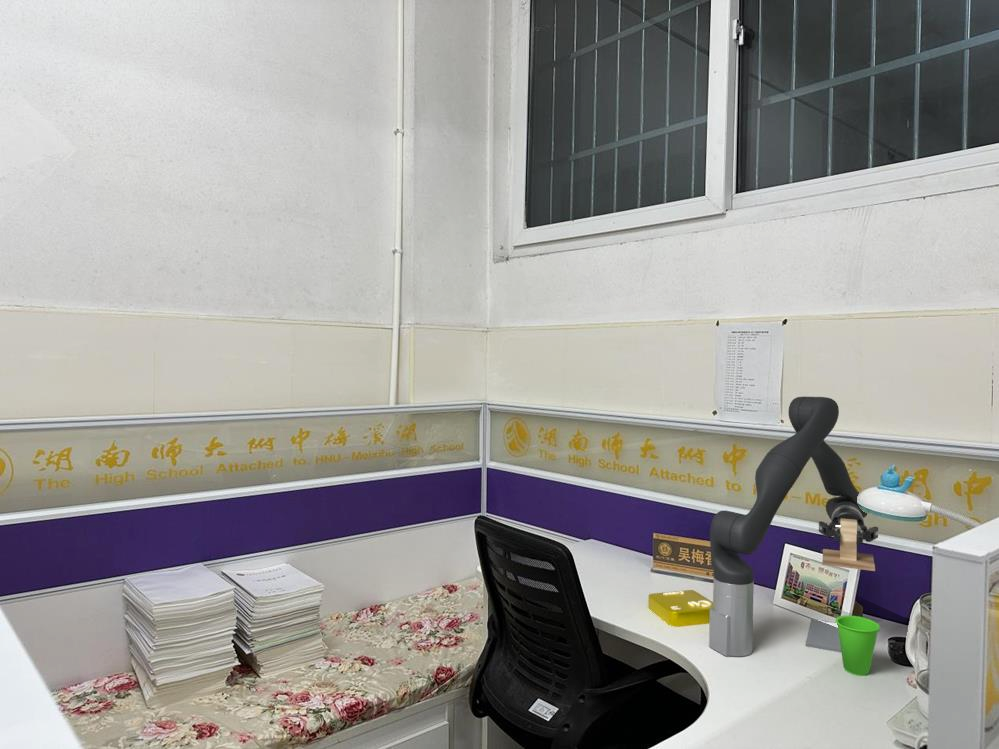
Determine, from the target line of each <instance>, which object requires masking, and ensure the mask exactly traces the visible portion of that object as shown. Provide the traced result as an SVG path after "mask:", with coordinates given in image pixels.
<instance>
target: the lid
mask: <svg viewBox="0 0 999 749" xmlns="http://www.w3.org/2000/svg"><path fill="white" fill-rule="evenodd" d="M840 533H841V543H839V550H836V549H827V548H823V549H822V566H829V567H837V568H846V569H855V570H864V571H872V572H876V565H875V561H874V559H875V558H874V554H873V553H866V552H865V553H864V552H858V550H857V547H858V546H857V544H856V537H857V520H853V519H842V518H841V519H840Z"/></svg>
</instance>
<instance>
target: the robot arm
mask: <svg viewBox="0 0 999 749" xmlns="http://www.w3.org/2000/svg"><path fill="white" fill-rule="evenodd" d="M788 406H789V407H788V412H787V414H788V418H789V422H790V424H791V425H792V428H793V430H794V431H795V434H793V435H791V436H790V437H788V438H787V439H785V440H783V441H781V442H779V443H778V444H776V445H775V446H773V447H772V448H771V449H770V450H769V451H768V452H767V453H766V455H765V456H764V457H763V459H762V460H761V462H760V463H759V465H758V467H757V468H756V471H755V476H754V480H755V482H754V483H755V489H756V490H755V491H756V500H755V503H754V504H753V506H752V507H751V508H750V511H749V512H747V513H746V514H743V513H739V512H735V511H729V510H720V511H718V512H717V513H715V515H714V516H713V518H712V521H711V522H710V523H711V525H710V528H709V529H710V531H709V544H710V545H709V546H710V563H711V564H710V565H711V568H712V571H713V587H712V588H713V590H712V591H713V592H712V594H713V597H712V598H713V599H712V602H713V608H711V609H710V623H709V624H708V625H709V629H708V630H709V632H708V633H709V634H708V636H709V639H708V647H709V648H711V649H713V650H714V651H716V652H717V653H720V654H721V655H723V656H725V657H747V656H750V655H751V654H753V642H754V641H753V640H754V638H753V637H754V634H753V633H754V632H753V629H754V628H753V627H754V593H755V592H754V589H755V587H754V585H755V584H754V583H755V582H754V581H755V580H754V579H755V578H754V577H755V574H754V573H755V572H754V569H753V568H752V567H751V566H750V564H748V563H747V562H745V560H743V559H742V558H741V556H740V555H745V556H746V555H752V554H754V553H755V552H756V551H757V550H758V548H759V547H760V545H761V544H762V542H763V541H764V538H765V537H766V535H767V532H768V530H769V528H770V526H771V523H772V522H773V520H774V518H775V515H776V514H777V512H778V510H779V509H780V506H781V505H782V503H783V501H784V500H785V499H786V497H787V495H788V494H789V492H790V491H791V489H792V488H793V486H794V485H795V484H796V481H797V480H798V479H799V477H800V475H801V473H802V472H803V470H804V468H805V466H806V465H807V463H809V461H810V459H812V462H813V463H814V465H815V467H816V469H817V472H818V474H819V477H820V479H821V482H822V484H823V485H822V486H823V487H824V489H825V492H826V493H827V494H829V495H830V496H832V498H829V499H828V500H827V501H826V503H825V511H826V514H827V516H828V518H829V519H830V520H831V522H830V523H826V522H824V521H818V532H819V533H820V534H821V535H822V536H824V537H826V538H827V539H830V538H832V537H833V540H834V541H837V542H836V543H839V544H840V543H841V533H840V519H841V518H842V519H853V520H857V537H856V544H857V545H859V546H860V544H863V543H864V541H865V542H866V543H869V542H873V541H875V540H876V539H878V538H879V527H877V526H872V527H869V528H868V527H867V526H866V525H865V522H864V518H866V517H867V516H868V514H867V513H865V512H863V511H862V510H861V509H860V508H859V506H858V504H857V496H858V494H859V493H860V491H859V490H857V488H856V486H854V484H853V482H852V480H851V476H850V474H849V472H848V469H847V466H846V464H845V462H844V460H843V459H842V458H841V457H840V455H839V454H838V453H837V452H836V451H835V450H834V449H833V448H832V447H831V446H829V444H828V443H827V442H826V441H825V439H826V438H827V437H828V436H829V435H830V433H831V432H832V431H833V429H834V428H835V426H836V423H837V422H838V419H839V415H840V414H839V413H840V410H839V409H840V408H839V405H838V403H837V401H835V399H832V398H831V397H826V396H797V397H795V398H793V399H792V400H791V402H790V404H789V405H788Z"/></svg>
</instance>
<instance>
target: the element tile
mask: <svg viewBox="0 0 999 749" xmlns="http://www.w3.org/2000/svg"><path fill="white" fill-rule="evenodd" d="M647 600H648V601H647V603H648V604H647V605H648V606H647V607H648V608H649V609H650V610H651V611H652V613H653V612H654V613H655V614H656V615H657V616H656V615H655V614H654V613H653V614H654V615H655V616H656V617H658V616H659V617H660V618H661V619H660V618H659V617H658V618H659V619H660V620H662V621H663V622H664V621H665V622H666V623H665V622H664V623H665V624H667V625H668V626H670V625H671V626H670V627H673V626H674V627H673V628H675V627H676V628H680V627H690V626H698V625H706V624H707V625H709V623H710V609H711V608H713V600H710V599H708V598H707V597H706V596H705V595H702V594H700V593H699V592H697V591H696V590H694V589H686V590H685V589H684V590H677V591H665V592H655V593H649V594H648V599H647ZM649 609H648V610H649ZM650 610H649V611H650ZM651 611H650V612H651Z"/></svg>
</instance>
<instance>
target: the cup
mask: <svg viewBox="0 0 999 749" xmlns="http://www.w3.org/2000/svg"><path fill="white" fill-rule="evenodd" d="M834 621H835V623H837V625H838V632H839V639H840V646H841V652H840V654H841V657H842V658H841V659H842V665H843V668H844V671H846V672H847V673H850V674H851V675H855V676H861V677H862V676H867V675H868V674H869V673H870V669H871V666H872V660H873V656H874V650H875V646H876V641H877V636H878V632H879V630H880V629H881V626H880V624H879V623H878V622H876V621H875V620H872V619H870V618H867V617H863V616H858V615H840V616H837V617H836V618H835V620H834Z"/></svg>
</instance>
